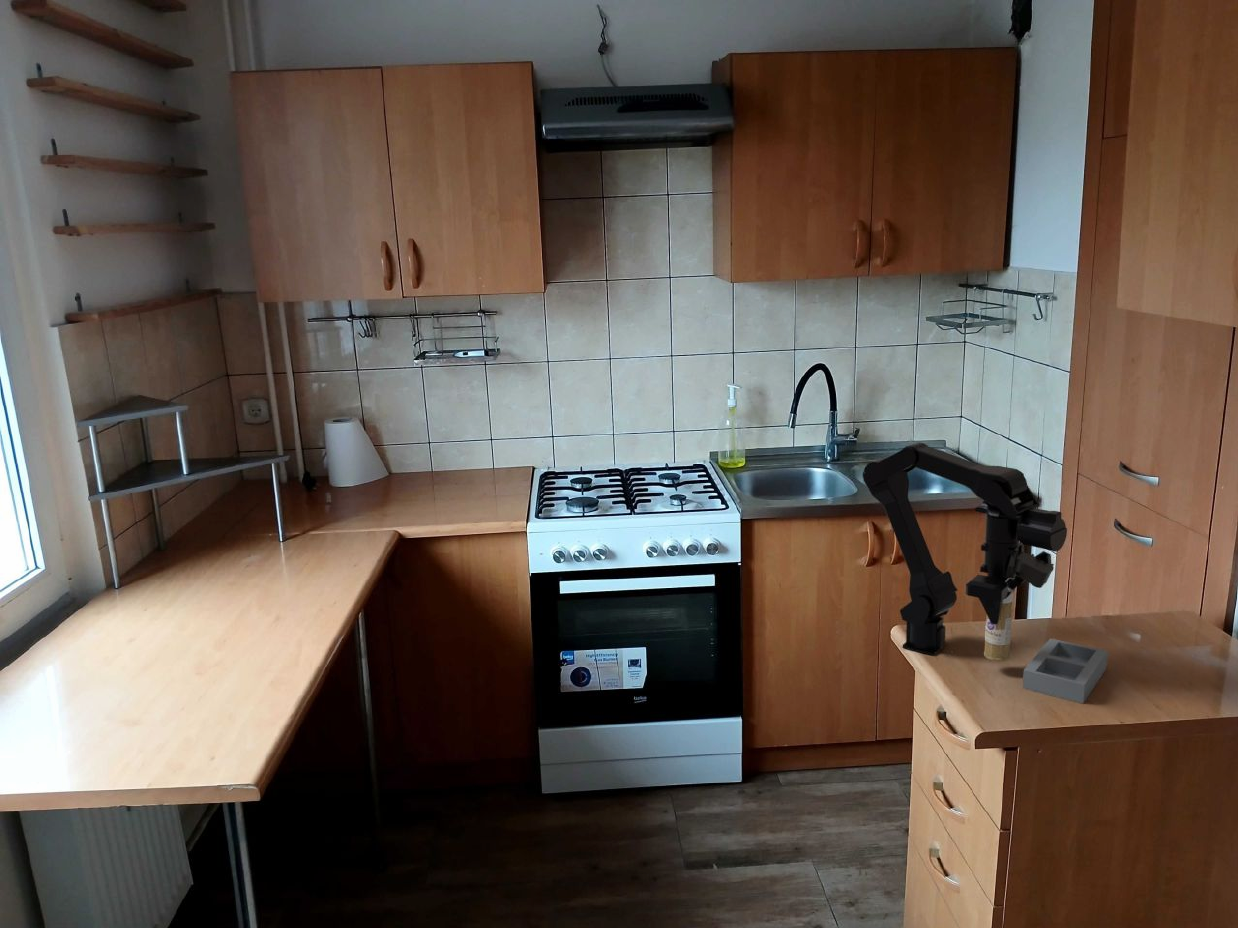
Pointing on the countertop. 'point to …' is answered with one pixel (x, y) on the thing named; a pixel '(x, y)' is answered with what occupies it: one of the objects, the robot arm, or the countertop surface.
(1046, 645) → the slot caddy
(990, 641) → the sprinkles bottle
